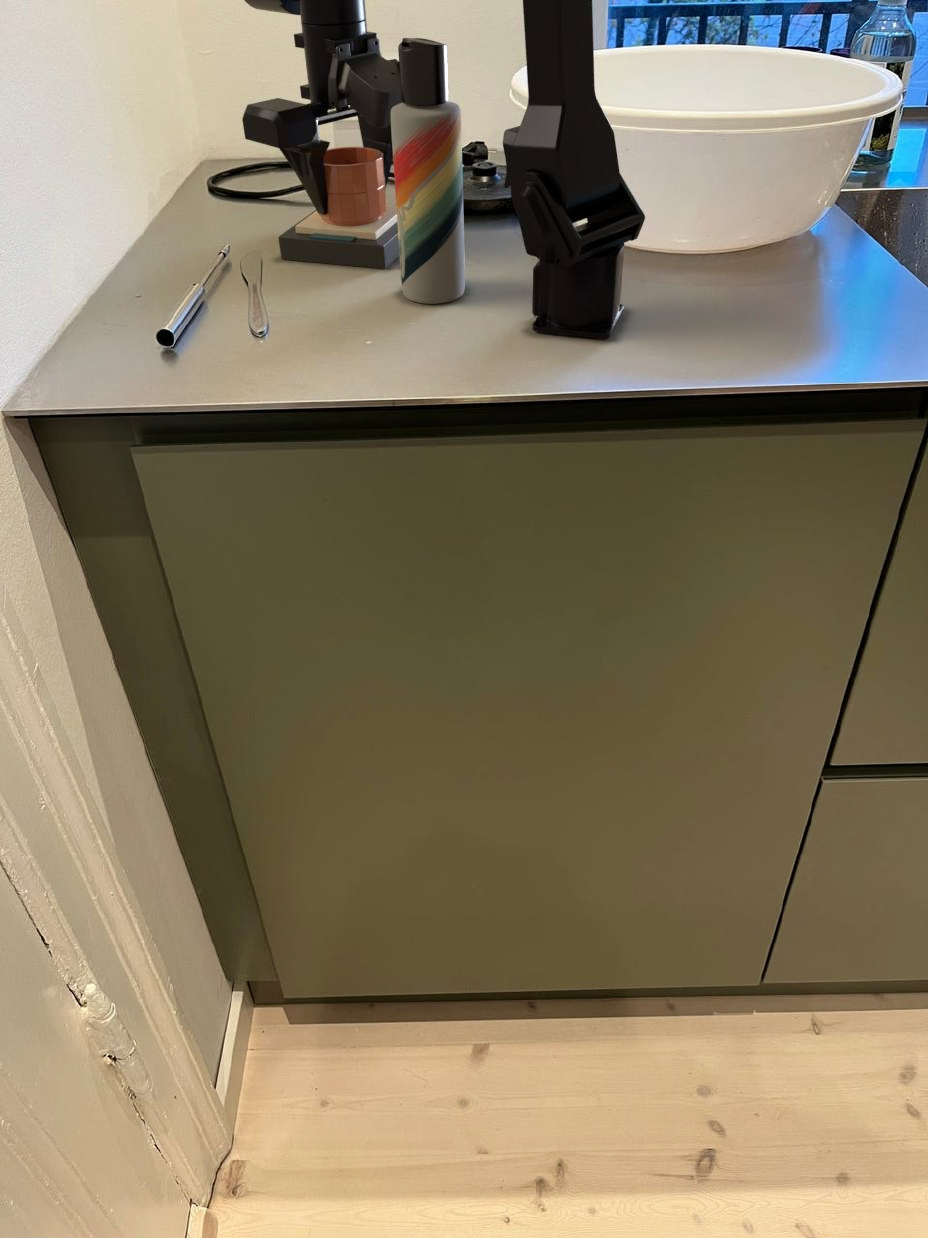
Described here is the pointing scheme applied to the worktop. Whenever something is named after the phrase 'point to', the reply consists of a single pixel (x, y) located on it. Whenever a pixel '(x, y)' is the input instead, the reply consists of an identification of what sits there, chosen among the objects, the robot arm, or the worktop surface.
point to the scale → (343, 241)
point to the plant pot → (354, 186)
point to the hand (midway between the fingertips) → (351, 205)
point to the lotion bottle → (428, 176)
